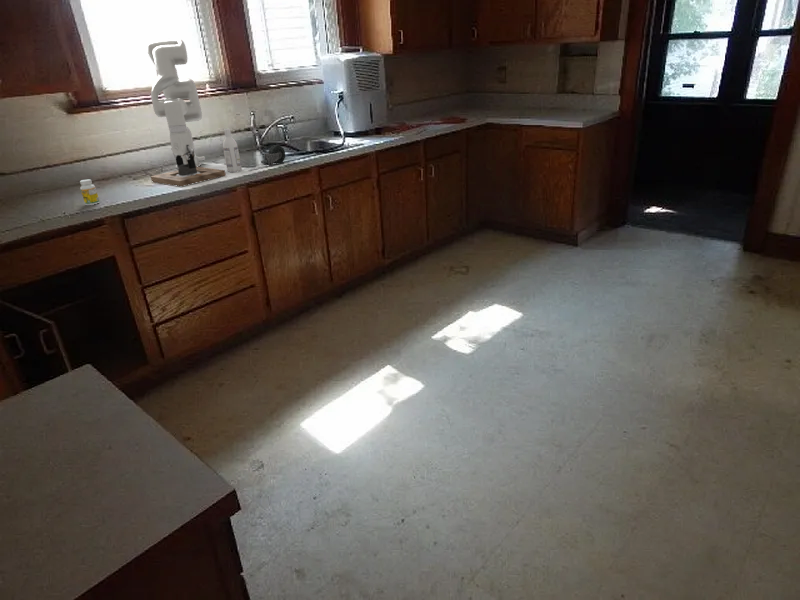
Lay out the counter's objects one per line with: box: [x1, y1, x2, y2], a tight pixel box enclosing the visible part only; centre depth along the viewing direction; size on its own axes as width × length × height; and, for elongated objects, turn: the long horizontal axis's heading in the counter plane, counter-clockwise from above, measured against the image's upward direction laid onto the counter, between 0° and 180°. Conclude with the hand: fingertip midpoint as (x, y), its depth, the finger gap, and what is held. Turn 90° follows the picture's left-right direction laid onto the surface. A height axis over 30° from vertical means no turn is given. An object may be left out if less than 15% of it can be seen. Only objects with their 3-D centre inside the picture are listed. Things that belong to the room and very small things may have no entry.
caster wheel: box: [260, 144, 286, 166], centre depth 269 cm, size 6×10×15 cm
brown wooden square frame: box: [150, 166, 227, 187], centre depth 250 cm, size 24×24×3 cm
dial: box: [176, 164, 200, 177], centre depth 249 cm, size 11×11×6 cm
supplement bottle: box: [79, 179, 101, 206], centre depth 213 cm, size 5×5×10 cm
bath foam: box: [222, 128, 243, 173], centre depth 258 cm, size 7×7×20 cm
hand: (186, 167), depth 249 cm, fingers open, 9 cm apart
